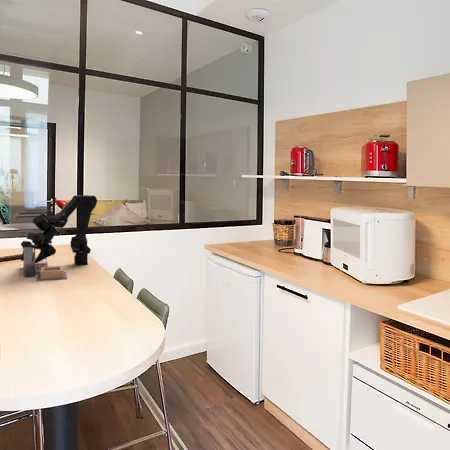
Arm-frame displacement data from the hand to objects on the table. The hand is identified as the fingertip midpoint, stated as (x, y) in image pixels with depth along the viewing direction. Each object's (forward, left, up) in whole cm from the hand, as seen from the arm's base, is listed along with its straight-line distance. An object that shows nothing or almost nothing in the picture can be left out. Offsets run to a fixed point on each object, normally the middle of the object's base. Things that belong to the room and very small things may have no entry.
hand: (28, 261), depth 191 cm
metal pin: (-1, -1, -7) cm, 7 cm away
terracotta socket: (-11, +3, -7) cm, 13 cm away
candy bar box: (-2, -22, -5) cm, 23 cm away
